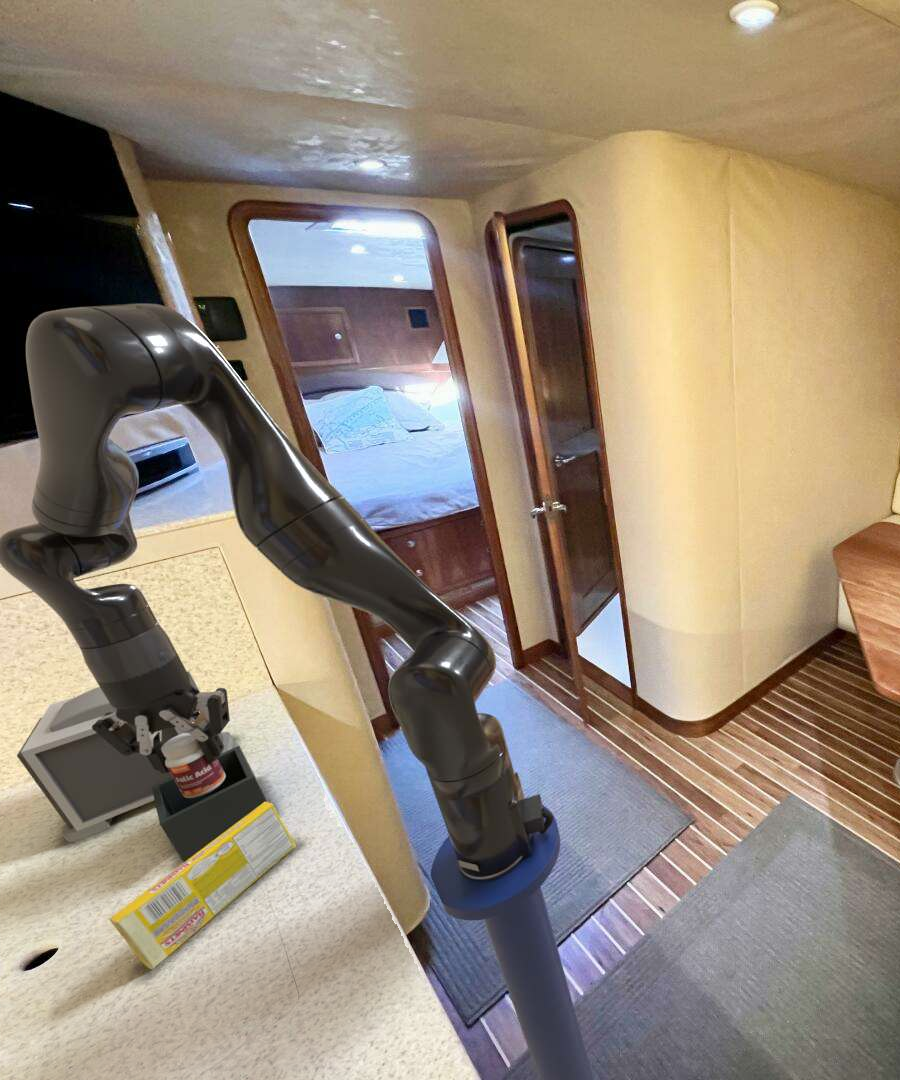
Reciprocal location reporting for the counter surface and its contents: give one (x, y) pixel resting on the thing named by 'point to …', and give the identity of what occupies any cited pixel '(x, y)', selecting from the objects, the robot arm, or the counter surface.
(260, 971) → the counter surface
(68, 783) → the crt monitor
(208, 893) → the candy box
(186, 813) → the open storage box
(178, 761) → the pill bottle
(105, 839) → the counter surface
